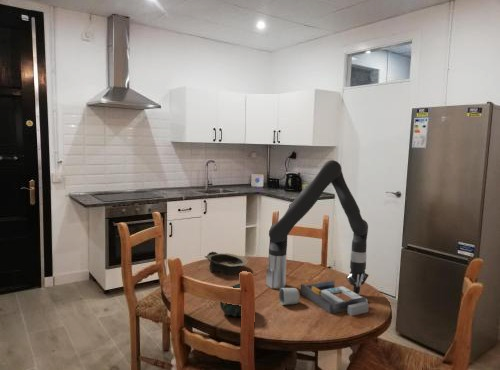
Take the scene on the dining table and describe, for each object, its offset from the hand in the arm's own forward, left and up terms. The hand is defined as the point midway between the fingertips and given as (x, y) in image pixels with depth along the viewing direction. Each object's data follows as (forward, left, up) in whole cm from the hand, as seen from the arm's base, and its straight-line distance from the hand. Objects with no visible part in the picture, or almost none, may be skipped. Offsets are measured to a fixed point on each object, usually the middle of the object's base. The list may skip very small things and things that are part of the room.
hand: (356, 293), depth 192 cm
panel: (-13, -16, -1) cm, 21 cm away
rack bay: (-15, 0, -1) cm, 15 cm away
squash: (-63, +4, -1) cm, 63 cm away
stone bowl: (-46, +58, -1) cm, 74 cm away
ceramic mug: (-37, +6, -1) cm, 37 cm away
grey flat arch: (-9, 0, -1) cm, 9 cm away
